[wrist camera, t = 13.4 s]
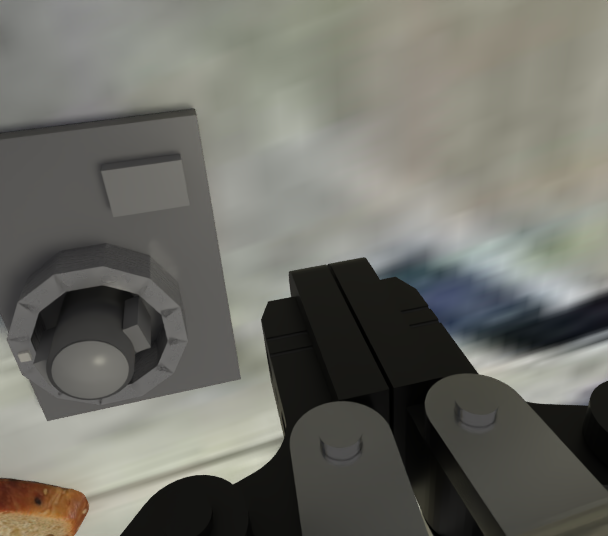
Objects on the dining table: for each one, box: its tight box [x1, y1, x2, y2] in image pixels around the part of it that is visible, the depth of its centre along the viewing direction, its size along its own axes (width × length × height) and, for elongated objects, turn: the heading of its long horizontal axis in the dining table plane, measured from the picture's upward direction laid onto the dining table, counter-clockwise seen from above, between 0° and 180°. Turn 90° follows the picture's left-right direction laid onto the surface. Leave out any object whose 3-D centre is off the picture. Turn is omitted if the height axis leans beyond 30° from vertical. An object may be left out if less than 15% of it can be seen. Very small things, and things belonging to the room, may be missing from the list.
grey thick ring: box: [7, 243, 188, 405], centre depth 34 cm, size 10×10×3 cm
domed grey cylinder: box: [33, 285, 151, 400], centre depth 32 cm, size 6×5×6 cm
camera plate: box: [0, 109, 241, 421], centre depth 34 cm, size 14×20×3 cm
